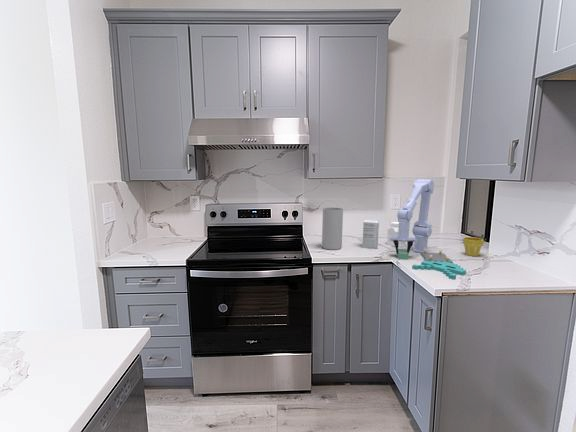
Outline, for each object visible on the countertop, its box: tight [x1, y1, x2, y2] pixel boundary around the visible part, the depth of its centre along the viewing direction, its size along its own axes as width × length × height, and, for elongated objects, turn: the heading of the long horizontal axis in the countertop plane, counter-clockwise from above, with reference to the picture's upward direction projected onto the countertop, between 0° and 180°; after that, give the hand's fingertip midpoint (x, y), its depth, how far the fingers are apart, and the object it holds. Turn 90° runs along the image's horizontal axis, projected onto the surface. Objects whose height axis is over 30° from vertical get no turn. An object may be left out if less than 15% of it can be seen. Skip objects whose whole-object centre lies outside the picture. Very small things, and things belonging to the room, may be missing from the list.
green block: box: [396, 248, 409, 261], centre depth 175 cm, size 11×5×4 cm, turn 166°
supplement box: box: [361, 219, 380, 250], centre depth 197 cm, size 10×9×17 cm
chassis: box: [419, 248, 454, 263], centre depth 172 cm, size 18×13×4 cm
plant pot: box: [462, 236, 484, 257], centre depth 180 cm, size 10×10×10 cm
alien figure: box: [411, 260, 467, 280], centre depth 152 cm, size 20×2×20 cm
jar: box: [386, 221, 406, 248], centre depth 202 cm, size 12×10×15 cm
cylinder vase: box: [321, 207, 344, 251], centre depth 193 cm, size 12×12×25 cm
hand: (402, 253), depth 175 cm, fingers closed on green block, 5 cm apart
